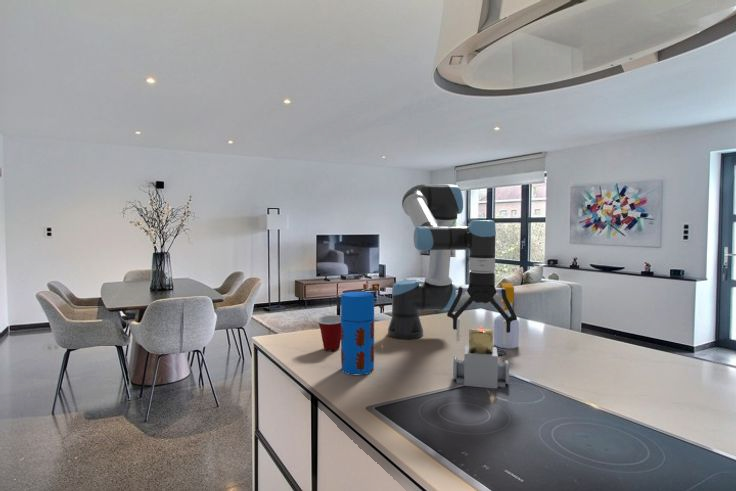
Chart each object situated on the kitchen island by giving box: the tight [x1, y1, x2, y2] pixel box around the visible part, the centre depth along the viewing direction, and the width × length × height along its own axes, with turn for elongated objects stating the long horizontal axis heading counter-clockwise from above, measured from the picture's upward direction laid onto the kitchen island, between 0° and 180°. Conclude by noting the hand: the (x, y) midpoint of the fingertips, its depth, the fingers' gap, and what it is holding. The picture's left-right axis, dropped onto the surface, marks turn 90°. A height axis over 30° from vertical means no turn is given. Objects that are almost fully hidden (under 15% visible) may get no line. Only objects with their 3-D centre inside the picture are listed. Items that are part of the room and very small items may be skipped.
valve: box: [468, 326, 494, 354], centre depth 131 cm, size 7×7×9 cm
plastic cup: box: [316, 314, 341, 351], centre depth 165 cm, size 11×11×12 cm
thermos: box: [340, 291, 375, 375], centre depth 141 cm, size 11×11×25 cm
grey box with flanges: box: [452, 344, 510, 389], centre depth 131 cm, size 16×9×10 cm, turn 76°
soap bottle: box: [493, 282, 520, 350], centre depth 169 cm, size 9×9×25 cm
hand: (481, 341), depth 131 cm, fingers open, 13 cm apart
